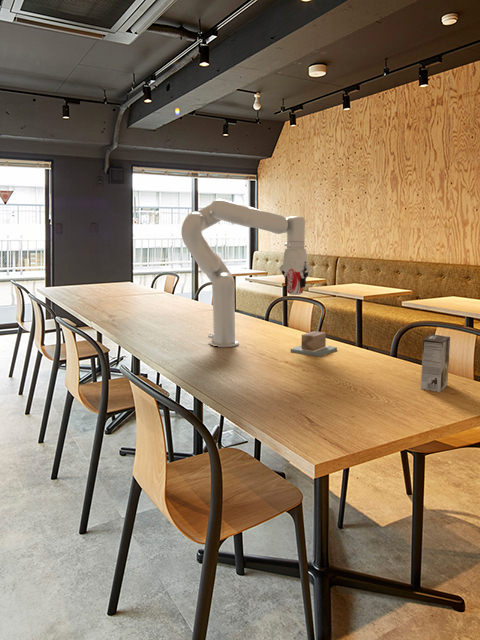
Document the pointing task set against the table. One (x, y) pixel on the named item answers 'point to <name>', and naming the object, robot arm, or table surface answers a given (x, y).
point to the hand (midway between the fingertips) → (295, 286)
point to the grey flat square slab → (318, 352)
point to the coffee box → (435, 363)
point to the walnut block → (313, 340)
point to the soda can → (294, 282)
